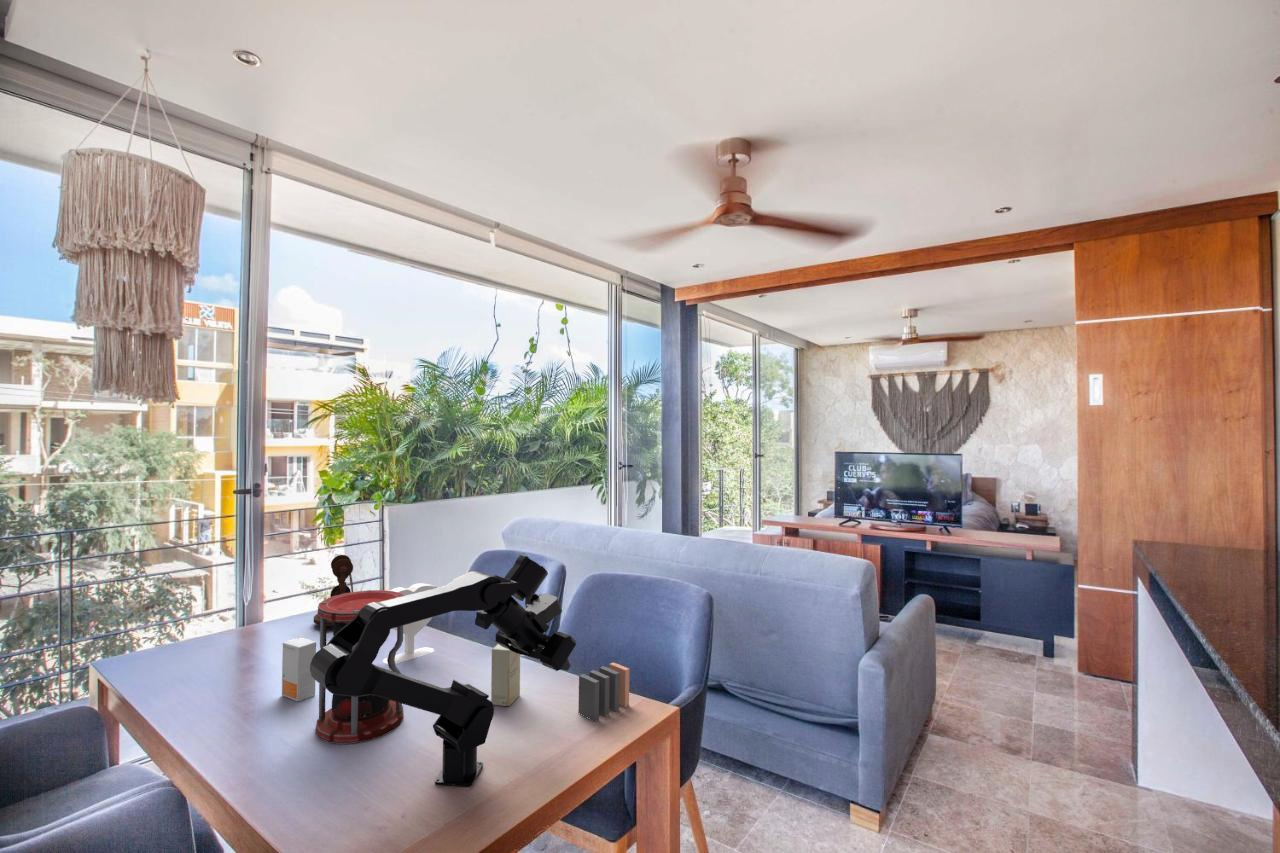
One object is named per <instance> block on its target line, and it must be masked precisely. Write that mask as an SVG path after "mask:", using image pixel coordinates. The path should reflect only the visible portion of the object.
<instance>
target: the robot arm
mask: <svg viewBox="0 0 1280 853" xmlns="http://www.w3.org/2000/svg"><path fill="white" fill-rule="evenodd" d="M547 576H549V573H548V570H546V568H545V567H544V566H542V565H540V564H539V563H537V562H536V561H534V560H533V559H531V558H530V557H529V556H527V555H524V554H519V556H517V558H516V559H515V562H514V564H513V565H512V567H511V568H510V570H508V572H506V575H505V576H504V577H503V576H501V575H500V576H499V575H496V574H495V575H493V574H488V573H485V572H481V571H479V570H471V571H469V572H467V573H464V574H462V575H460V576H457V577H454V578H453V579H452V580H451V581H450V582H449V583H446V584H445V585H443V586H439V587H437V588H434V589H430V590H426V591H422V592H418V593H414V594H410V595H406V596H402V597H398V598H394V599H390V600H386V601H382V602H372V603H369V604H367V605H365V606H364V607H363V608H362V609H361V610H360V612H359V613H358V614H357V615H356V617H355V618H354V619H353V620H351V621H350V622H349V623H348V624H346V625H345V626H344V627H343V628H341V629H340V630H339V631H338V632H337V633H336V634H335V635H334V636H332V637H331V639H330V640H329V641H328V642H327V643H326V646H325V647H323V648H320V649H319V650H318V651H316V654H315V655H314V657H313V659H312V661H311V663H310V672H311V676H312V677H313V678H314V679H315V682H317V683H318V684H321V685H322V686H323V687H324V688H326V691H328V692H330V694H332V695H333V694H334V695H340V696H353V697H359V696H366V695H374V696H378V697H381V698H385V699H388V700H391V701H395V702H398V703H401V704H402V705H405V706H409V707H411V708H412V707H413V708H415V709H419V710H422V711H425V712H429V713H432V714H435V715H439V716H438V718H437V719H436V720H435V722H434V723H433V724H432V728H433V732H434V733H435V736H437V737H439V738H441V739H442V765H441V766H442V768H441V770H440V772H439V774H438V775H437V777H436V778H435V780H434V784H435V785H436V786H437V785H439V786H440V785H441V786H457V787H458V786H460V787H471V786H473V785H474V784H475V781H476V779H478V776H479V774H480V772H481V771H482V769H483V767H484V762H483V761H478V747H479V746H481V745H484V744H486V740H487V738H488V734H489V730H490V728H491V723H492V721H493V718H494V716H495V715H494V714H495V705H494V704H493V703H492V702H491V699H490V700H489V699H488V698H489V697H490V695H489V694H487V693H486V692H483V691H482V690H480V689H478V688H476V687H475V686H473V685H471V684H469V683H467V684H466V683H465V684H464V683H461V682H460V681H457V680H456V679H453V680H452V683H451V685H450V687H440V686H438V685H434V684H432V683H429V682H426V681H423V680H420V679H416V678H414V677H411V676H408V675H405V674H402V673H401V674H399V673H396V672H393V671H392V670H391V669H387V668H384V667H380V666H378V665H375V664H374V663H373V662H374V661H375V660H376V658H377V656H378V654H379V651H380V649H381V647H382V646H381V644H382V642H383V639H384V637H385V636H386V634H387V633H388V632H389V630H390V631H391V630H394V629H393V628H396V627H400V626H403V625H407V624H410V623H414V622H417V621H421V620H424V619H428V618H431V617H433V618H434V617H437V616H438V617H439V616H441V615H444V614H448V613H452V612H457V611H463V612H464V611H465V612H466V611H467V612H475V614H476V615H475V619H474V625H475V626H477V627H479V628H481V629H483V630H489V628H490V626H491V625H493V626H494V627H495V628H496V629H497V632H496V634H495V642H496V643H497V644H499V645H500V646H502V647H504V648H507V649H509V650H511V651H513V652H515V653H517V654H520V656H521V655H522V656H526V657H528V658H529V657H530V658H533V659H536V660H539V662H541V663H542V665H543V666H544V667H546V668H548V669H551V670H554V671H555V672H558V671H562V670H563V671H567V672H568V671H569V669H570V668H571V663H570V661H569V656H570V655H571V654H572V652H573V651H574V648H575V647H576V645H577V641H576V640H575V638H574V637H573V636H572V635H570V634H567V633H565V632H562V631H556V632H553V633H552V635H551V636H550V635H548V634H545V633H547V631H548V630H549V628H550V626H549V624H548V623H550V622H551V621H553V620H554V619H555V618H556V617H558V616H559V615H561V614H562V612H563V610H562V607H561V603H560V602H559V599H558V596H555V595H552V594H550V593H549V594H548V593H539V594H537V593H536V592H538V589H539V588H540V587H541V585H542V584H543V582H544V581H545V579H546V578H547ZM516 599H517V600H519V601H521V602H523V601H524V605H525V608H524V607H523V606H522V605H521V604H520V603H519V602H518V601H517V600H516ZM357 642H358V644H357V646H356V647H355V649H354V650H353V651H351V648H352V647H353V646H354V645H355V644H356V643H357ZM509 644H510V645H509Z"/></svg>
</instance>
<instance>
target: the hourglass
mask: <svg viewBox="0 0 1280 853" xmlns="http://www.w3.org/2000/svg"><path fill="white" fill-rule="evenodd" d="M402 596H405V595H403V594H401V593H399V592H394V591H389V590H384V589H383V590H382V589H379V590H378V589H376V590H375V589H374V590H373V589H367V590H359V591H353V592H350V593H344V594H340V595H336V596H333V597H331V596H330V597H328V598H326V599H323V600H322V601H320V602H319V603H318V606H317V614H318V615H319V616H320V625H319V627H320V628H319V648H320V649H321V648H323V647H325V646H326V645H327V628H328V626H327V620H333V621H334V623H333V626H332V635H333V636H334V635H335V634H336V633H337V632H338V631H339V630H340V629H341V628H343V627H344V626H345V625H346V624H348V623H349V622H350V621H351V620H353V619H354V618H355V617H356V615H357V614H358V613H359V612H360V610H361V609H362V608H363V607H364V606H365V605H367V604H369V603H372V602H382V601H386V600H390V599H394V598H398V597H402ZM390 634H391V629H390V630H389V632H388V633H387V634H386V636H385V637H384V639H383V642H382V644H381V647H382V646H383V645H384V643H385V642H386V641H387V639H388V637H389V636H390ZM333 636H332V637H333ZM403 642H404V633H403V626H400V627H397V631H396V641H395V643H394V646H393V647H392V649H391V650H389V652H388V655H387V658H388V659H387V661H388V664H387V665H388V668H389V670H390V671H393V672H396V673H399V674H402V672H401V670H400V669H399V668H398V667H397V665H396V664H397V663H396V664H395V655H397V654H396V653H397V652H398V650H399V649H400V648H401V647H402V645H403ZM357 644H358V642H357V643H356V644H355V645H354V646H353V647H352V648H351V651H353V650H354V649H355V647H356V646H357ZM326 692H327V689H326V688H324V687H323V686H322V685H321V684H320V683H318V719H317V720H316V724H315V734H316V736H317V737H318V739H320V740H322V741H324V742H326V743H329V744H338V745H346V744H356V743H362V742H367V741H372V740H374V739H378V738H381V737H382V736H385V735H387V734H388V733H391V732H392V731H394V730H395V729H396V728H397V727H398V726H400V725H401V723H402V722H403V720H404V717H405V716H404V713H405V712H404V705H403V704H401V703H398V702H395V701H391V700H388V699H385V698H381V697H378V696H374V695H366V696H359V697H353V696H340V695H334V694H332V698H331V708H330V709H328V710H326V694H327V693H326Z"/></svg>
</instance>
